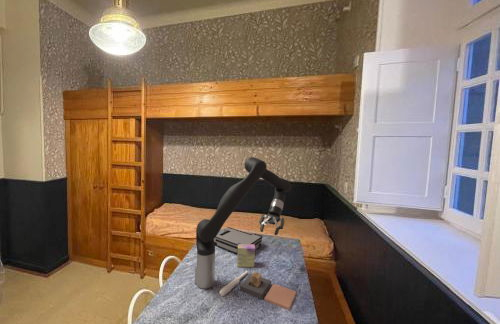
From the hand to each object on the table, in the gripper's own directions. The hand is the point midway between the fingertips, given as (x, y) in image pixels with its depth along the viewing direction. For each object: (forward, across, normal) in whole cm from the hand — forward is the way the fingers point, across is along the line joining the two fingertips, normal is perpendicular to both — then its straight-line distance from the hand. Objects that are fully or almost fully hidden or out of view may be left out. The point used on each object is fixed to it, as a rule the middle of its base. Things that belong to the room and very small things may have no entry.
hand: (268, 233), depth 119 cm
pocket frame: (+27, 0, +7) cm, 28 cm away
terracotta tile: (+27, +13, +7) cm, 31 cm away
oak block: (+27, 0, +7) cm, 28 cm away
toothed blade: (+29, -11, +5) cm, 32 cm away
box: (+16, -15, +18) cm, 28 cm away
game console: (+3, -32, +31) cm, 45 cm away
